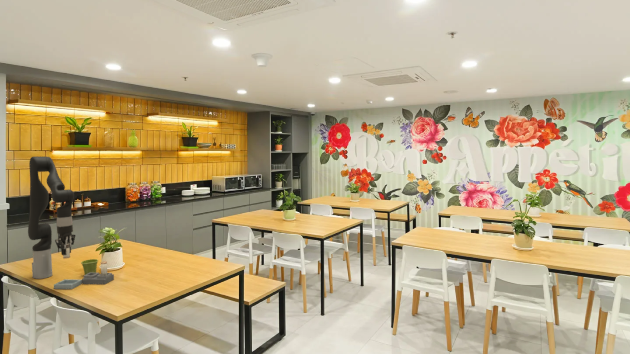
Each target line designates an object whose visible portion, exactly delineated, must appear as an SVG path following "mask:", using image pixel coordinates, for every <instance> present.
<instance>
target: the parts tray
mask: <svg viewBox="0 0 630 354" xmlns="http://www.w3.org/2000/svg"><path fill="white" fill-rule="evenodd" d="M81 285H83V284H82V279H69V278H67V279H65V278H64V279H63V280H61V281H57V283H54V284H53V290H73V289H75V288H77V287H79V286H81Z"/></svg>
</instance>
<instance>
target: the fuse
mask: <svg viewBox="0 0 630 354" xmlns="http://www.w3.org/2000/svg"><path fill="white" fill-rule="evenodd" d="M107 273H108V261H106V260H105V261H101V262H100V274H101V276H106V275H107Z"/></svg>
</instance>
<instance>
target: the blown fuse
mask: <svg viewBox="0 0 630 354" xmlns="http://www.w3.org/2000/svg"><path fill="white" fill-rule="evenodd" d="M63 247H64V245H63ZM62 258H63V259H64V260H65V259H70V258H71V253H70V246H69V242H67V245H66V255H62Z"/></svg>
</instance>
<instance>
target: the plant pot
mask: <svg viewBox="0 0 630 354" xmlns="http://www.w3.org/2000/svg"><path fill="white" fill-rule="evenodd" d="M98 262H99V259H98V258H93V259H92V258H90V259H85V260H82V261H81V263H80V264H81V266H82V268H83V274H84V275H86V274H88V273H97V268H98Z"/></svg>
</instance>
